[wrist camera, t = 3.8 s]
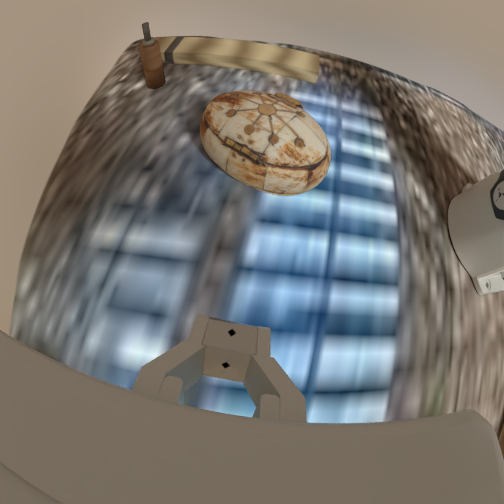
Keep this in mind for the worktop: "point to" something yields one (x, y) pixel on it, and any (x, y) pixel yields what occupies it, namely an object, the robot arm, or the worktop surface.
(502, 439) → the pencil case cradle
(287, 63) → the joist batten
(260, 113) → the trinket box
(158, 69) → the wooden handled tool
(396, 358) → the worktop surface
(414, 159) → the worktop surface
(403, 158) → the worktop surface
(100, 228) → the worktop surface
